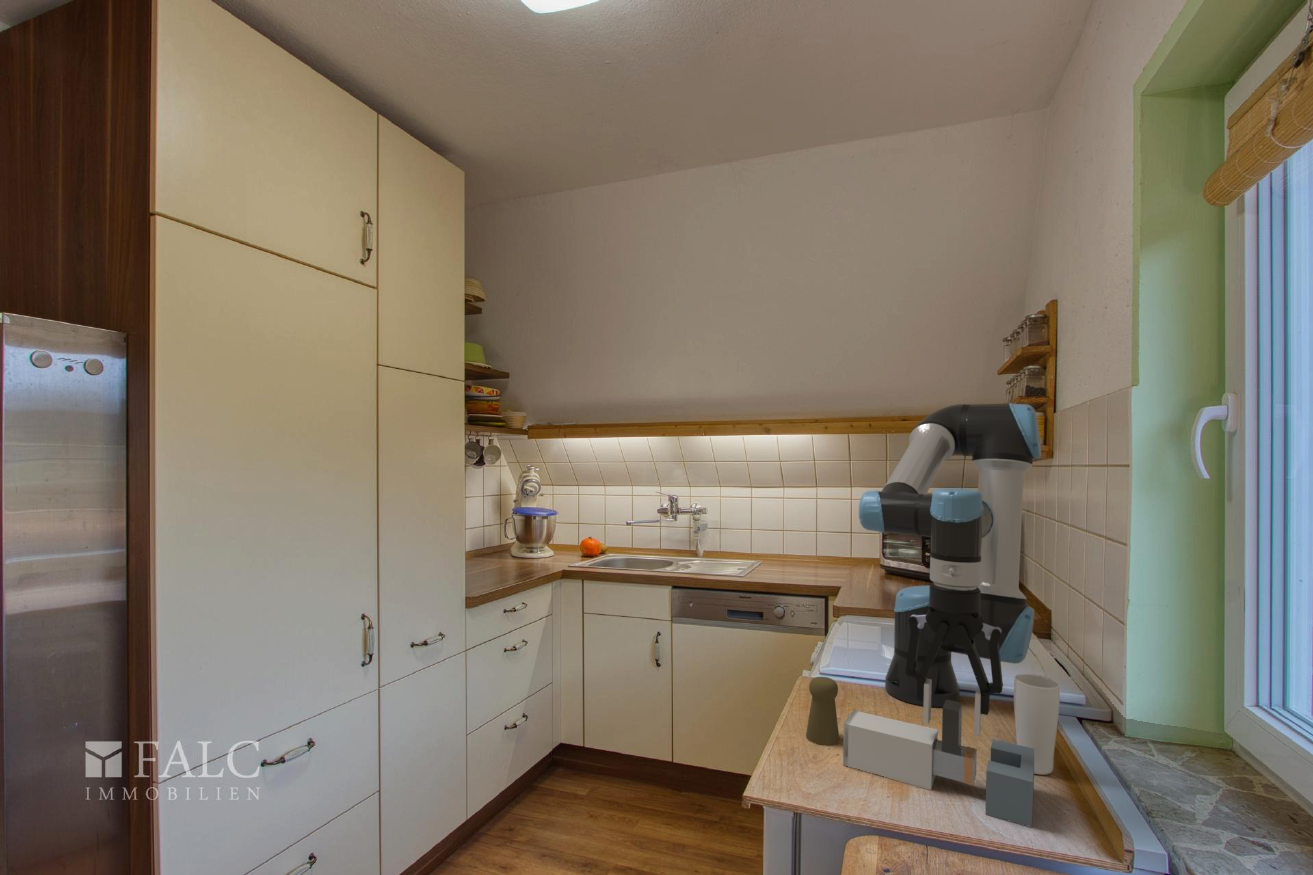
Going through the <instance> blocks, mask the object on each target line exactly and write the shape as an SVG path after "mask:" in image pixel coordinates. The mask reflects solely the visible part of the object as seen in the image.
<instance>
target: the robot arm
mask: <svg viewBox="0 0 1313 875" xmlns="http://www.w3.org/2000/svg"><path fill="white" fill-rule="evenodd" d="M1037 415H1038V414H1037V412H1036V410H1035V408H1034V407H1033V406H1032V405H1030V404H1027V403H1026V404H1024V403H1022V404H1021V403H1012V402H1009V403H982V404H981V403H980V404H978V403H977V404H976V403H975V404H972V403H971V404H964V403H963V404H962V403H958V404H953V405H948V406H945V407H942V408H940V409H938V410H935V411H934V412H933V413H932V412H931V414H929V415H927V416H926V417H924V418H923V419H922V420H920V422H918V423H917V424H916V426H915V427H914V428H913V429H912V431H911V433H910V434H909V437H908V447H907V448H906V450H905V451H904V453H903V455H902V457H901V458H900V460H899V462H898V463H897V465H896V467H895V469H894V470H893V472H892V474H891V475H890V477H889V478H888V481H887V482H886V483H885V485H884V487H883V488H882V489H881V491H880V490H878V489H877V490H867V491H865V492H863V493H862V495H861V497H860V501H859V503H858V504H859V505H858V518H859V523H860V525H861V527H862V528H863V529H865V530H867V531H872V532H878V533H882V534H885V533H886V534H887V533H888V534H896V535H897V534H898V535H908V536H910V535H911V536H919V537H927V538H928V537H929V538H930V558H929V560H930V561H929V564H930V565H929V579H930V581H931V583H930V585H916V586H915V585H914V586H908V587H904V588H901V589H899V591H898V592H897V593H896V596H895V604H894V609H893V611H894V633H893V634H894V640H893V641H894V646H893V647H894V649H893V651H894V652H893V656H892V659H891V661H890V665H889V667H888V669H887V672H886V675H885V681H884V684H885V686H884V688H885V691H886V693H888V694H889V695H890V696H892V697H894V698H896V699H897V700H899V701H903V702H906V703H908V704H913V705H917V706H921V707H923V709H922V710H923V717H922V719H923V722H922V723H923V724H922V725H927V726H929V724H930V723H931V722H930V721H931V719H932V708H938V707H939V708H943V706H944V703H945V701H946V700H951V701H956V702H960V692H961V691H960V686H959V683H958V679H957V677H956V673H955V669H954V666H953V664H952V653H954V654H961V655H965V656H967V657H968V661H969V663H970V666H971V669H972V672H973V675H974V677H975V681H976V683H977V686H978V688H976V690H975V693H974V698H975V699H974V730H973V732H974V733H973V734H974V737H975V736H976V737H980V736H981V733H982V715H983V716H988V715H989V712H990V708H991V707H990V704H991V702H990V701H991V700H990V699H991V695H992V694H998V695H999V694H1001V693H1002V692H1003V688H1004V683H1003V675H1002V674H1003V673H1002V672H1003V671H1002V662H1003V663H1008V664H1020V663H1022V662H1023V661H1024V660H1025V658H1026V657H1027V653H1028V651H1029V646H1030V643H1031V639H1032V634H1033V631H1034V630H1033V629H1034V628H1033V627H1034V620H1035V609H1034V608H1033V607H1031V606H1027V597H1026V595H1025V594H1024V593H1023V592H1022V591H1021V590H1020V587H1019V586H1020V585H1019V584H1020V564H1021V563H1020V562H1021V546H1022V544H1021V540H1022V521H1023V520H1022V518H1023V501H1024V500H1023V498H1024V494H1023V493H1024V475H1025V474H1026V473H1027V472H1029V471H1030V470H1031V469H1032V468H1033V461H1034V460H1038V459H1040V458H1041V457H1042V445H1041V435H1040V434H1041V433H1040V428H1039V420H1038V416H1037ZM952 456H954V457H955V456H959V457H960V456H961V457H962V456H963V457H971V465H972V466H973V467H974V468H975V469H977V471H978V481H977V482H978V483H977V484H978V485H977V486H978V487H977V490H975V489H972V488H971V489H969V488H953V487H952V488H949V487H945V488H944V487H943V488H936V489H935V490H933V492H932V494H928V492H929V491H930V488H931V486H932V484H933V483H934V480H935V478H936V477H937V474H939V470H940V469H941V467H942V465H943V462H945V461H947V460H949V459H950V458H951V457H952ZM981 659H986V660H990V669H991V670H990V671H991V678H992V679H991V680H992V681H991V682H989V679H988V677H987V674H986V672H985V669H984V665H983V663H982V660H981Z"/></svg>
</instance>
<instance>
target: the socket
mask: <svg viewBox="0 0 1313 875" xmlns="http://www.w3.org/2000/svg"><path fill="white" fill-rule="evenodd" d="M1034 752H1035V749H1034V748H1030V747H1025V746H1021V745H1017V743H1011V742H1007V741H1003V740H999V739H994V738H992V740H991V746H990V760H987V767H986V772H985V773H986V774H985V776H986V778H985V779H986V780H985V815H986V816H990V817H993V818H997V819H1000V820H1003V819H1004V820H1003V821H1007V820H1010V821H1013V822H1012V823H1014V822H1017V823H1020V824H1019V825H1021V824H1024V825H1029V826H1032V827H1033V811H1034V808H1033V807H1034V790H1035V788H1034V787H1035V786H1034V784H1035V774H1034ZM1010 821H1009V822H1010ZM1017 823H1016V824H1017ZM1024 825H1023V826H1024Z"/></svg>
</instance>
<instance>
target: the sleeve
mask: <svg viewBox="0 0 1313 875" xmlns="http://www.w3.org/2000/svg"><path fill="white" fill-rule="evenodd" d="M938 732H939V730H938V729H936V728H934V727H933V728H931V727H928V726H925V725H924V726H923V725H920V724H916V723H910V722H906V721H901V720H899V719H894V718H893V719H892V718H888V717H885V716H879V715H875V714H871V713H867V712H863V711H858V710H854V709H853V710H852V712H850V714H849V715H848V717H847V718H846V720H845V721H844V722H843V739H842V740H843V743H842V744H843V746H842V748H843V749H842V750H843V751H842V766H843V765H844V767H846V766H849V767H848V768H850V767H852V768H851V769H853V768H858V769H860V770H859V771H861V770H863V771H862V772H864V771H869V772H872V773H875V774H878V775H877V776H879V775H881V776H880V777H882V776H884V777H883V778H886V777H887V778H886V779H891V780H894V781H897V782H901V783H904V784H908V785H912V786H914V787H919V788H922V789H926V790H931V791H932V788H933V785H934V783H935V779H936V776H937V775H934V774H932V753H933V746H934V743H935V740H939V733H938ZM872 773H871V774H872ZM875 774H874V775H875Z"/></svg>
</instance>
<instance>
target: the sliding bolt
mask: <svg viewBox="0 0 1313 875" xmlns="http://www.w3.org/2000/svg"><path fill="white" fill-rule="evenodd" d="M962 711H963V702H960V701H958V702H956V701H951V700H946V701H945V703H944V706H943V707H942V717H941V718H942V721H941V722H942V723H941V740H940V739H938V740H935V743H934V746H933V753H932V774H934V775H936V776H938V777H942V778H946V779H950V780H952V781H958V782H960V783H964V784H966V785H969V786H974V785H975V782H976V776H977V758H978V756H977V755H978V754H977V753H978V752H977V751H978V750H977V748H975V747H971V746H965V745H962V723H963V722H962V718H963V717H962V716H963V712H962Z"/></svg>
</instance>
